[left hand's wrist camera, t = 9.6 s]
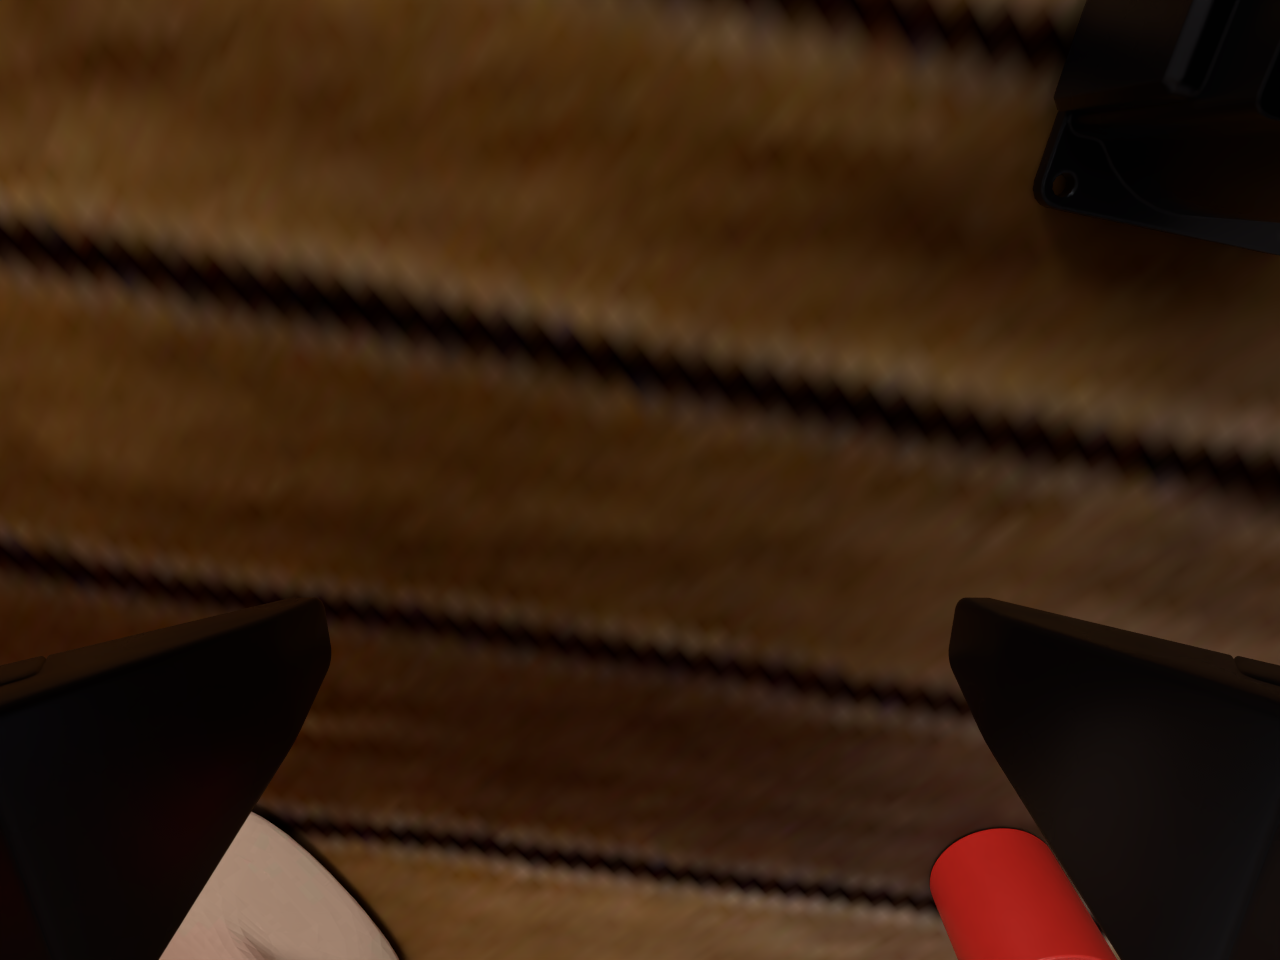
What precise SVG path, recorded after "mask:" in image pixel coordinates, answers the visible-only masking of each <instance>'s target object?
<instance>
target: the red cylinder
mask: <svg viewBox="0 0 1280 960" xmlns="http://www.w3.org/2000/svg"><path fill="white" fill-rule="evenodd" d="M930 890H931V893H932V897H933V899H934V901H935V904H936V906H937V909H938V911H939V914H940V916H941V919H942V921H943V924H944V926H945V929H946V931H947V934H948V936H949V939H950V941H951V944H952V946H953V948H954V951H955V953H956V956H957V958H958V960H1117V959H1116V957H1115V955H1114V954H1113V952H1112V950H1111V949H1110V947H1109V945H1108V944H1107V942H1106V941H1105V939H1104V937H1103V936H1102V934H1101V932H1100V931H1099V929H1098V927H1097V926H1096V924H1095V922H1094V921H1093V919H1092V917H1091V916H1090V914H1089V912H1088V911H1087V909H1086V908H1085V906H1084V904H1083V903H1082V901H1081V899H1080V898H1079V896H1078V894H1077V893H1076V891H1075V889H1074V888H1073V886H1072V884H1071V883H1070V881H1069V879H1068V878H1067V876H1066V875H1065V873H1064V871H1063V870H1062V868H1061V866H1060V865H1059V863H1058V861H1057V860H1056V858H1055V856H1054V855H1053V853H1052V852H1051V850H1050V849H1049V847H1048V846H1047V845H1046V844H1045V843H1044V842H1043V841H1041V840H1040V839H1039V838H1037V837H1035V836H1034V835H1032V834H1029V833H1027V832H1024V831H1020V830H1016V829H1009V828H997V829H988V830H983V831H979V832H976V833H973V834H970V835H968V836H966V837H964V838H962V839H960V840H958V841H957V842H955V843H953V844H952V845H951V846H950V847H948V848H947V849H946V850H945V851H944V852H943V853H942V854H941V856H940V857H939V858H938V859H937V861H936V863H935V865H934V867H933V869H932V872H931V877H930Z"/></svg>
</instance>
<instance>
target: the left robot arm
mask: <svg viewBox="0 0 1280 960" xmlns="http://www.w3.org/2000/svg"><path fill="white" fill-rule="evenodd" d="M1054 100H1055V103H1056V106H1057V109H1058V113H1057V116H1056V119H1055V122H1054V125H1053V128H1052V131H1051V134H1050V137H1049V139H1048V142H1047V145H1046V148H1045V151H1044V154H1043V157H1042V160H1041V163H1040V166H1039V168H1038V171H1037V174H1036V177H1035V180H1034V186H1033V192H1034V196H1035V199H1036V200H1037V201H1038V203H1039V204H1040V205H1043V206H1045V207H1047V208H1051V209H1056V210H1061V211H1066V212H1070V213H1075V214H1080V215H1085V216H1090V217H1095V218H1099V219H1104V220H1109V221H1114V222H1119V223H1123V224H1128V225H1133V226H1138V227H1143V228H1147V229H1152V230H1157V231H1162V232H1167V233H1171V234H1176V235H1181V236H1186V237H1191V238H1195V239H1200V240H1205V241H1210V242H1215V243H1219V244H1224V245H1229V246H1234V247H1239V248H1243V249H1248V250H1253V251H1258V252H1263V253H1267V254H1274V255H1280V0H1087V1H1086V4H1085V7H1084V9H1083V12H1082V15H1081V18H1080V21H1079V24H1078V27H1077V30H1076V33H1075V36H1074V39H1073V42H1072V45H1071V48H1070V51H1069V53H1068V56H1067V59H1066V62H1065V65H1064V68H1063V71H1062V74H1061V77H1060V80H1059V83H1058V86H1057V89H1056V92H1055V95H1054ZM1060 174H1063V175H1064V176H1065V178H1066V180H1067V183H1066V188H1065V190H1064V191H1063V193H1061V194H1060V195H1058V196H1056V195H1055V194H1054V192H1053V190H1052V187H1053V182H1054V180H1055V179H1056V177H1057V176H1059V175H1060ZM330 661H331V645H330V638H329V632H328V626H327V620H326V614H325V608H324V605H323V603H322V602H321V600H319V599H318V598H289V599H285V600H280V601H276V602H272V603H268V604H264V605H259V606H255V607H251V608H247V609H242V610H238V611H234V612H230V613H226V614H221V615H217V616H213V617H209V618H204V619H200V620H196V621H192V622H188V623H183V624H179V625H175V626H171V627H166V628H162V629H158V630H154V631H150V632H145V633H141V634H137V635H133V636H128V637H124V638H120V639H116V640H112V641H107V642H103V643H99V644H95V645H90V646H86V647H82V648H78V649H74V650H69V651H65V652H61V653H57V654H52V655H49V656H48V657H47V659H46V658H45V657H43V656H40V657H35V658H31V659H27V660H22V661H18V662H14V663H10V664H5V665H1V666H0V960H159V959H160V957H161V956H162V954H163V952H164V951H165V949H166V948H167V946H168V944H169V943H170V941H171V940H172V938H173V936H174V935H175V933H176V932H177V930H178V928H179V927H180V925H181V924H182V922H183V920H184V919H185V917H186V916H187V914H188V912H189V911H190V909H191V908H192V906H193V904H194V903H195V901H196V900H197V898H198V896H199V895H200V893H201V892H202V890H203V888H204V887H205V885H206V884H207V882H208V880H209V879H210V877H211V876H212V874H213V872H214V871H215V869H216V868H217V866H218V864H219V863H220V861H221V860H222V858H223V856H224V855H225V853H226V852H227V850H228V848H229V847H230V845H231V844H232V842H233V840H234V839H235V837H236V835H237V834H238V832H239V831H240V829H241V827H242V826H243V824H244V823H245V821H246V819H247V818H248V816H249V815H250V813H251V811H252V810H253V808H254V807H255V805H256V803H257V802H258V800H259V799H260V797H261V795H262V794H263V792H264V791H265V789H266V787H267V786H268V784H269V783H270V781H271V779H272V778H273V776H274V775H275V773H276V771H277V770H278V768H279V767H280V765H281V763H282V762H283V760H284V759H285V757H286V755H287V754H288V752H289V750H290V748H291V747H292V745H293V743H294V742H295V740H296V738H297V736H298V734H299V732H300V730H301V728H302V726H303V723H304V721H305V719H306V717H307V715H308V712H309V710H310V708H311V706H312V704H313V701H314V699H315V697H316V695H317V693H318V691H319V688H320V686H321V684H322V682H323V680H324V677H325V675H326V673H327V671H328V668H329V665H330ZM949 661H950V665H951V668H952V671H953V673H954V675H955V677H956V680H957V682H958V684H959V686H960V688H961V691H962V693H963V695H964V697H965V699H966V702H967V704H968V706H969V708H970V710H971V712H972V715H973V717H974V719H975V721H976V723H977V726H978V728H979V730H980V732H981V734H982V736H983V738H984V740H985V742H986V743H987V745H988V747H989V749H990V750H991V752H992V754H993V755H994V757H995V759H996V760H997V762H998V763H999V765H1000V767H1001V768H1002V770H1003V771H1004V773H1005V775H1006V776H1007V778H1008V779H1009V781H1010V783H1011V784H1012V786H1013V787H1014V789H1015V791H1016V792H1017V794H1018V795H1019V797H1020V799H1021V800H1022V802H1023V803H1024V805H1025V807H1026V808H1027V810H1028V811H1029V813H1030V815H1031V816H1032V818H1033V819H1034V821H1035V823H1036V824H1037V826H1038V827H1039V829H1040V831H1041V832H1042V834H1043V835H1044V837H1045V839H1046V840H1047V842H1048V843H1049V845H1050V847H1051V848H1052V850H1053V851H1054V853H1055V855H1056V856H1057V858H1058V860H1059V861H1060V863H1061V864H1062V866H1063V868H1064V869H1065V871H1066V872H1067V874H1068V876H1069V877H1070V879H1071V880H1072V882H1073V884H1074V885H1075V887H1076V888H1077V890H1078V892H1079V893H1080V895H1081V896H1082V898H1083V900H1084V901H1085V903H1086V904H1087V906H1088V908H1089V909H1090V911H1091V912H1092V914H1093V916H1094V917H1095V919H1096V920H1097V922H1098V924H1099V925H1100V927H1101V928H1102V930H1103V932H1104V933H1105V935H1106V936H1107V938H1108V940H1109V941H1110V943H1111V944H1112V946H1113V948H1114V949H1115V951H1116V953H1117V954H1118V956H1119V957H1120V959H1121V960H1280V666H1279V665H1275V664H1270V663H1266V662H1262V661H1258V660H1253V659H1249V658H1245V657H1240V656H1237V657H1235V658H1234V659H1233V657H1232V656H1231V655H1228V654H1223V653H1219V652H1215V651H1211V650H1207V649H1202V648H1198V647H1194V646H1190V645H1185V644H1181V643H1177V642H1173V641H1169V640H1164V639H1160V638H1156V637H1152V636H1147V635H1143V634H1139V633H1135V632H1131V631H1126V630H1122V629H1118V628H1114V627H1109V626H1105V625H1101V624H1097V623H1092V622H1088V621H1084V620H1080V619H1076V618H1071V617H1067V616H1063V615H1059V614H1054V613H1050V612H1046V611H1042V610H1038V609H1033V608H1029V607H1025V606H1021V605H1016V604H1012V603H1008V602H1004V601H1000V600H995V599H991V598H962V599H961V600H959V601H958V603H957V605H956V608H955V614H954V620H953V626H952V632H951V638H950V644H949Z"/></svg>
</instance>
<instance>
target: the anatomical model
mask: <svg viewBox="0 0 1280 960" xmlns="http://www.w3.org/2000/svg"><path fill="white" fill-rule="evenodd" d="M159 960H399V958H398V956H397V955H396V953H395V951H394V950H393V948H392V947H391V945H390V943H389V942H388V940H387V939H386V938H385V936H384V935H383V934H382V932H381V931H380V929H379V928H378V927H377V926H376V924H375V923H374V922H373V921H372V920H371V918H370V917H369V916H368V915H367V913H366V912H365V911H364V910H363V909H362V907H361V906H360V905H359V904H358V903H357V901H356V900H355V899H354V898H353V897H352V896H351V895H350V894H349V893H348V892H347V891H346V889H345V888H344V887H343V886H342V885H341V884H340V883H339V882H338V881H337V880H336V879H335V878H334V877H333V876H332V874H331V873H330V872H329V871H328V870H327V869H326V868H325V867H323V866H322V865H321V864H320V863H319V862H318V861H317V860H316V859H315V858H314V857H313V856H312V855H311V854H310V853H309V852H308V851H307V850H305V849H304V848H303V847H302V846H301V845H300V844H298V843H297V842H296V841H295V840H294V839H292V838H291V837H290V836H289V835H288V834H286V833H285V832H283V831H282V830H280V829H279V828H278V827H276V826H275V825H273V824H272V823H270V822H269V821H268V820H266V819H264V818H263V817H261V816H259V815H257V814H255V813H253V812H251V813H250V815H249V816H248V818H247V819H246V821H245V823H244V824H243V826H242V827H241V829H240V831H239V832H238V834H237V835H236V837H235V839H234V840H233V842H232V844H231V845H230V847H229V848H228V850H227V852H226V853H225V855H224V856H223V858H222V860H221V861H220V863H219V864H218V866H217V868H216V869H215V871H214V872H213V874H212V876H211V877H210V879H209V880H208V882H207V884H206V885H205V887H204V888H203V890H202V892H201V893H200V895H199V896H198V898H197V900H196V901H195V903H194V904H193V906H192V908H191V909H190V911H189V912H188V914H187V916H186V917H185V919H184V920H183V922H182V924H181V925H180V927H179V928H178V930H177V932H176V933H175V935H174V936H173V938H172V940H171V941H170V943H169V944H168V946H167V948H166V949H165V951H164V952H163V954H162V956H161V957H160V959H159Z"/></svg>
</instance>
